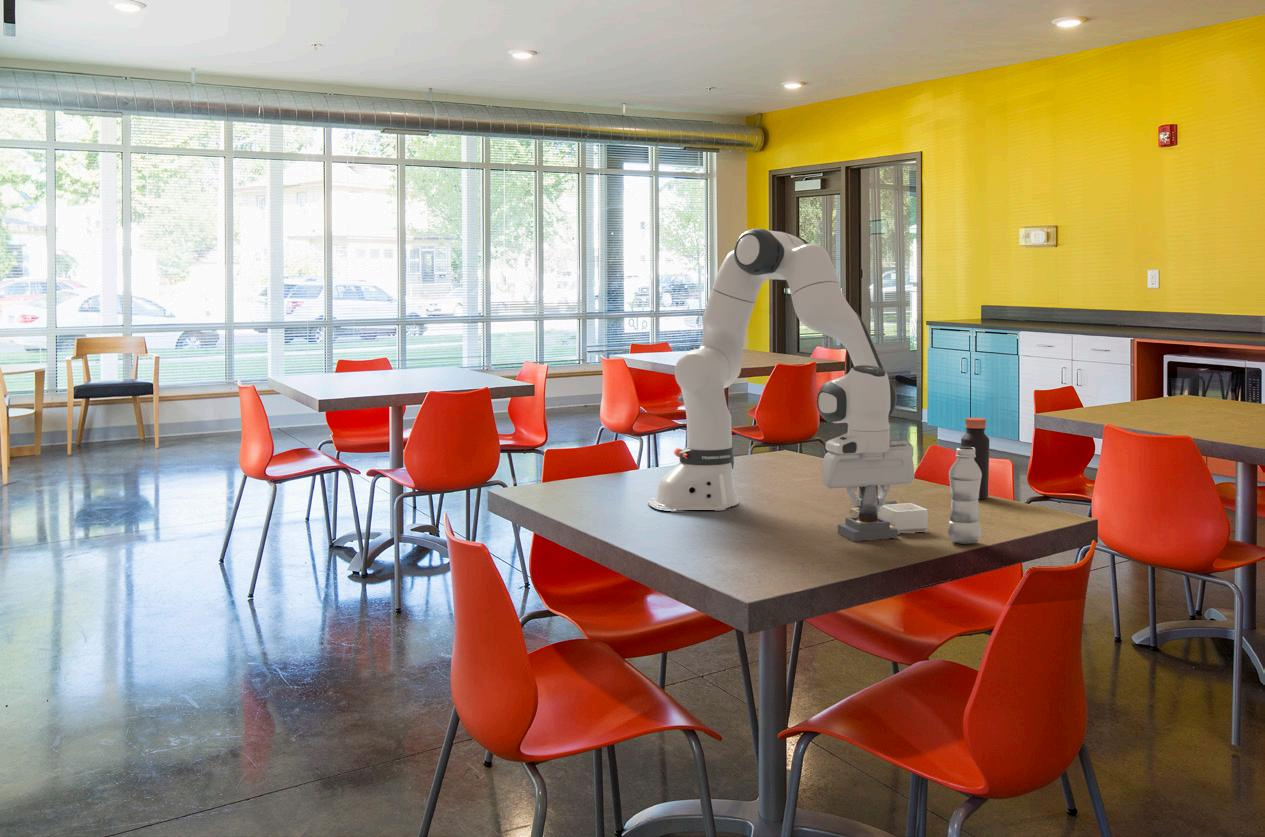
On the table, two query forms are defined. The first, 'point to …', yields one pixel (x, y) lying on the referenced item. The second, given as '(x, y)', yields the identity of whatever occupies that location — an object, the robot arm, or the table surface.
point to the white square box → (905, 517)
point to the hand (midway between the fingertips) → (867, 506)
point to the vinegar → (978, 449)
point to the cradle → (866, 529)
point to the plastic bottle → (964, 498)
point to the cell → (868, 503)
